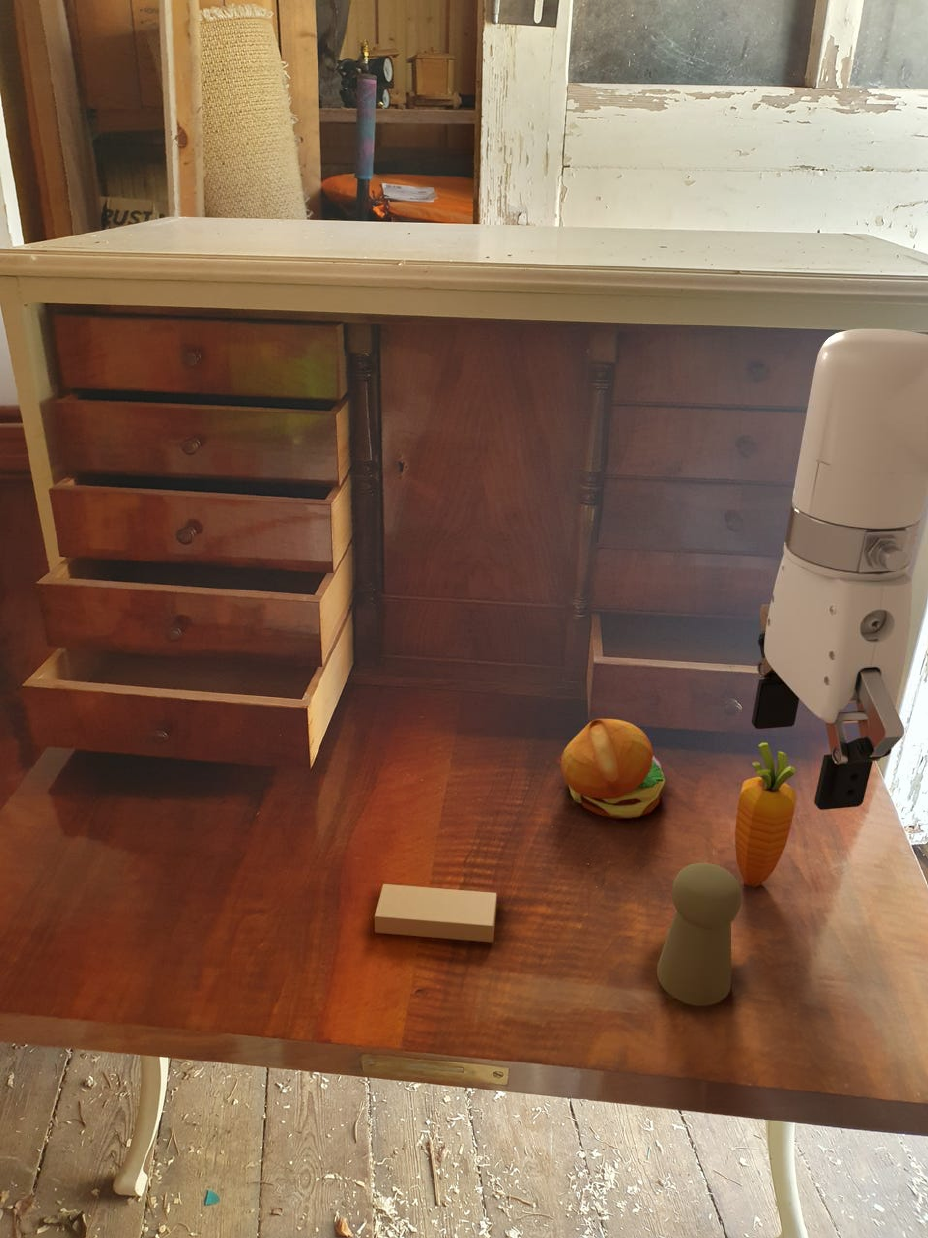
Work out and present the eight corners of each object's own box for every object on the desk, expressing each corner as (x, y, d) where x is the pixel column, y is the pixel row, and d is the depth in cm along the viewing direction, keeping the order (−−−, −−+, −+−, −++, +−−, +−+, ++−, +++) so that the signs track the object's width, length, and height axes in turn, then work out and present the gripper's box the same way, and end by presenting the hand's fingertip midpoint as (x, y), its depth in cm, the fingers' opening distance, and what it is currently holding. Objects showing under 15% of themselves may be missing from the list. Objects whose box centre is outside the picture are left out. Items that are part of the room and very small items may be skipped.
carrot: (786, 907, 86) (815, 767, 79) (731, 906, 86) (755, 767, 79) (770, 869, 90) (796, 734, 84) (717, 869, 90) (739, 734, 84)
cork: (656, 1008, 76) (670, 900, 71) (653, 951, 81) (666, 847, 76) (735, 1017, 75) (755, 909, 70) (726, 958, 80) (745, 854, 75)
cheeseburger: (689, 799, 99) (685, 728, 94) (617, 860, 95) (609, 790, 89) (617, 754, 106) (609, 685, 101) (547, 809, 102) (535, 740, 96)
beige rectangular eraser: (496, 914, 85) (496, 892, 83) (492, 948, 81) (493, 926, 80) (383, 905, 85) (383, 883, 84) (375, 938, 82) (374, 916, 81)
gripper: (992, 590, 53) (922, 837, 61) (836, 489, 68) (796, 697, 76) (866, 597, 52) (811, 848, 60) (736, 493, 67) (705, 703, 75)
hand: (802, 763), depth 68 cm, fingers open, 9 cm apart
